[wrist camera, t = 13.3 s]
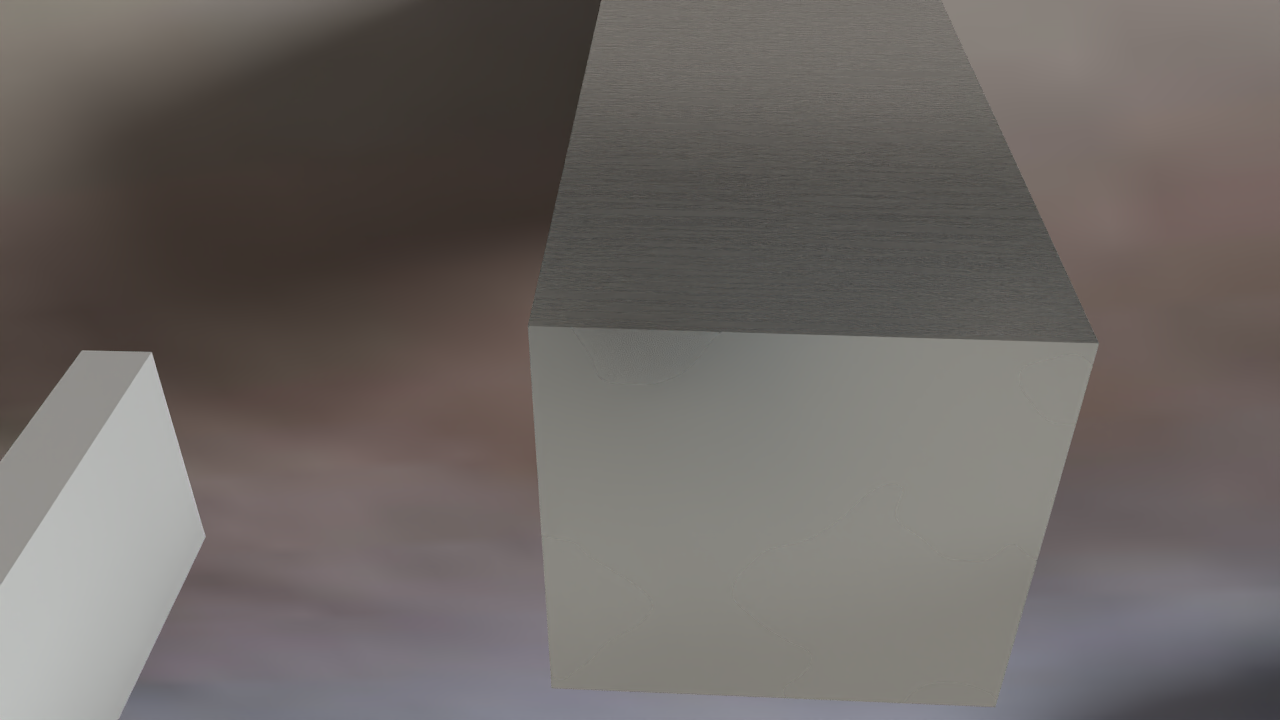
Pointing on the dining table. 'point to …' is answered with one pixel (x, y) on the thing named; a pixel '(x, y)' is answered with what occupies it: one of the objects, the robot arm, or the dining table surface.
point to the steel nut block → (795, 360)
